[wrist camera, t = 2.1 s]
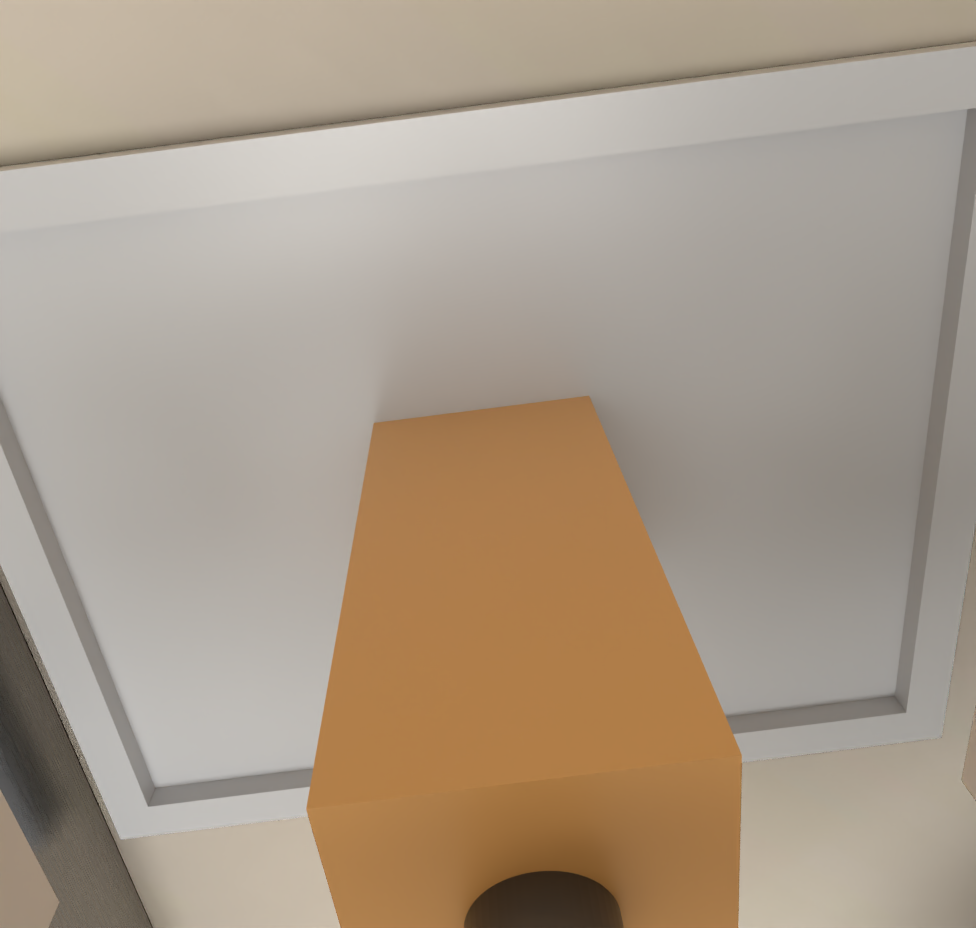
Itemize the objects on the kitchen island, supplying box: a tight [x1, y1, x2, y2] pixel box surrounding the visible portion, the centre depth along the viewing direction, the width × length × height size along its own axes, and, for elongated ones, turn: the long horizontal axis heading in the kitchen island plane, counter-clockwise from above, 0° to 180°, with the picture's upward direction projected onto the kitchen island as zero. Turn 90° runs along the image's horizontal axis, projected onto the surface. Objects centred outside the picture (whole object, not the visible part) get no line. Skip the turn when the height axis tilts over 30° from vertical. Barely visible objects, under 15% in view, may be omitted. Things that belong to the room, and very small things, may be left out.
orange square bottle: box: [306, 396, 742, 928], centre depth 13 cm, size 4×4×12 cm
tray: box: [0, 41, 976, 840], centre depth 19 cm, size 21×16×1 cm
